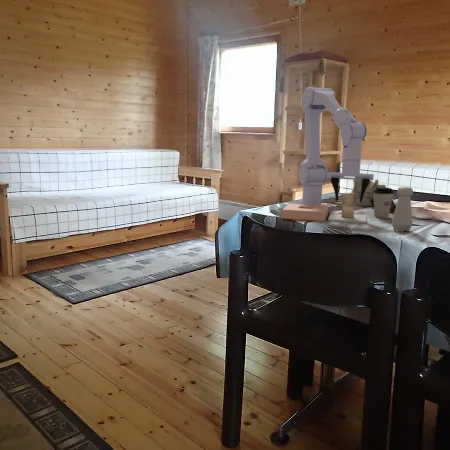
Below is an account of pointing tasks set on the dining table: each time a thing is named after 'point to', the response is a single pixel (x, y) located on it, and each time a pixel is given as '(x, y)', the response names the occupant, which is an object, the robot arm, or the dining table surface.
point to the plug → (348, 205)
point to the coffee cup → (382, 201)
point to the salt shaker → (403, 210)
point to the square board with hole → (305, 212)
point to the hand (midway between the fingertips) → (348, 201)
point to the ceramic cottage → (367, 194)
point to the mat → (340, 219)
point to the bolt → (392, 208)
